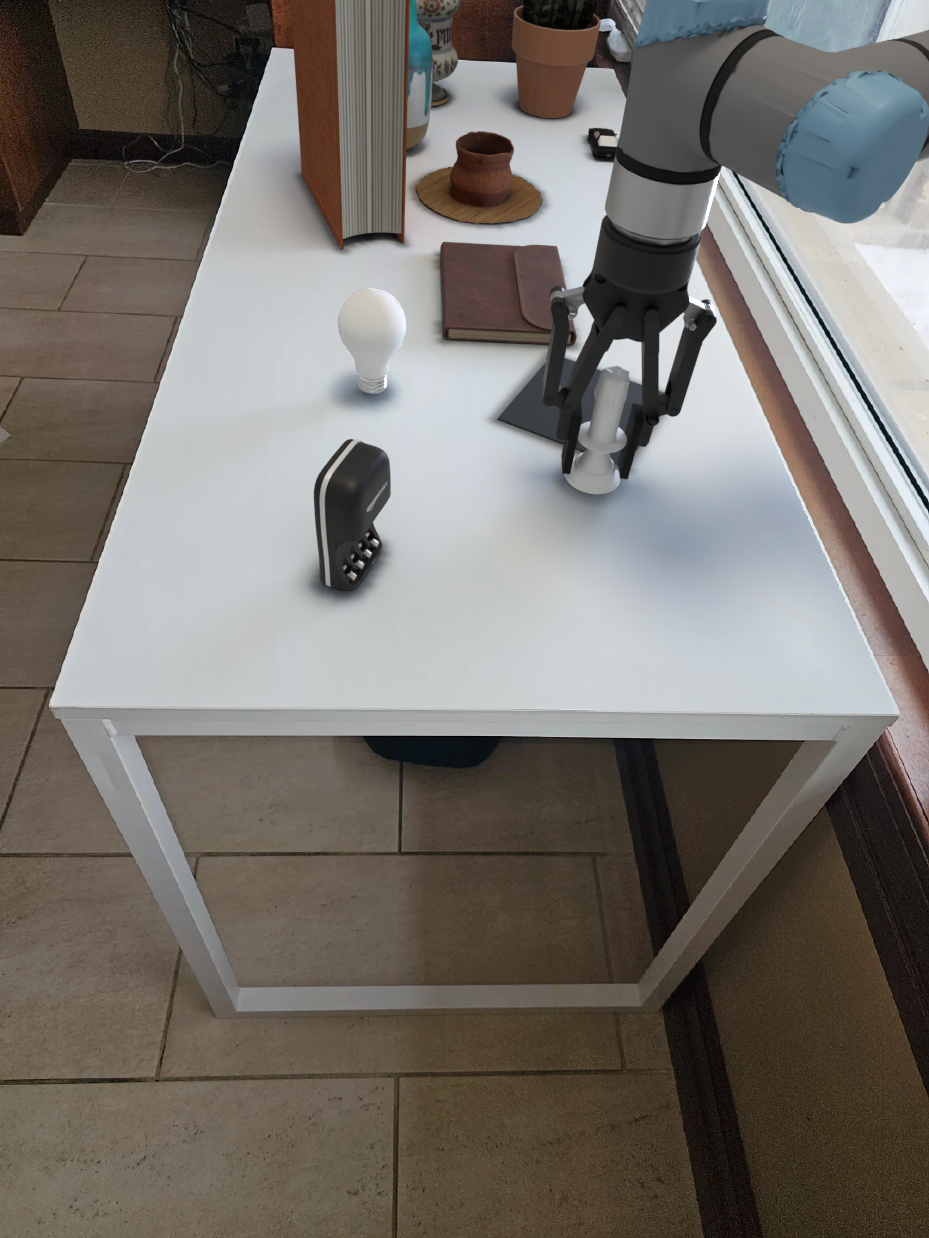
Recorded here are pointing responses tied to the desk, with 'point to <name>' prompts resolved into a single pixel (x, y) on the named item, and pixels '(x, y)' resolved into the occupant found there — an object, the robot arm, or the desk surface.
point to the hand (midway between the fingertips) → (594, 466)
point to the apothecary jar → (439, 40)
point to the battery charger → (350, 512)
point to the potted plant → (553, 53)
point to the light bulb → (372, 334)
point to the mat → (542, 418)
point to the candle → (602, 435)
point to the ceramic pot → (480, 183)
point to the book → (353, 110)
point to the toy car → (603, 141)
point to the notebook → (500, 292)
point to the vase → (418, 80)
